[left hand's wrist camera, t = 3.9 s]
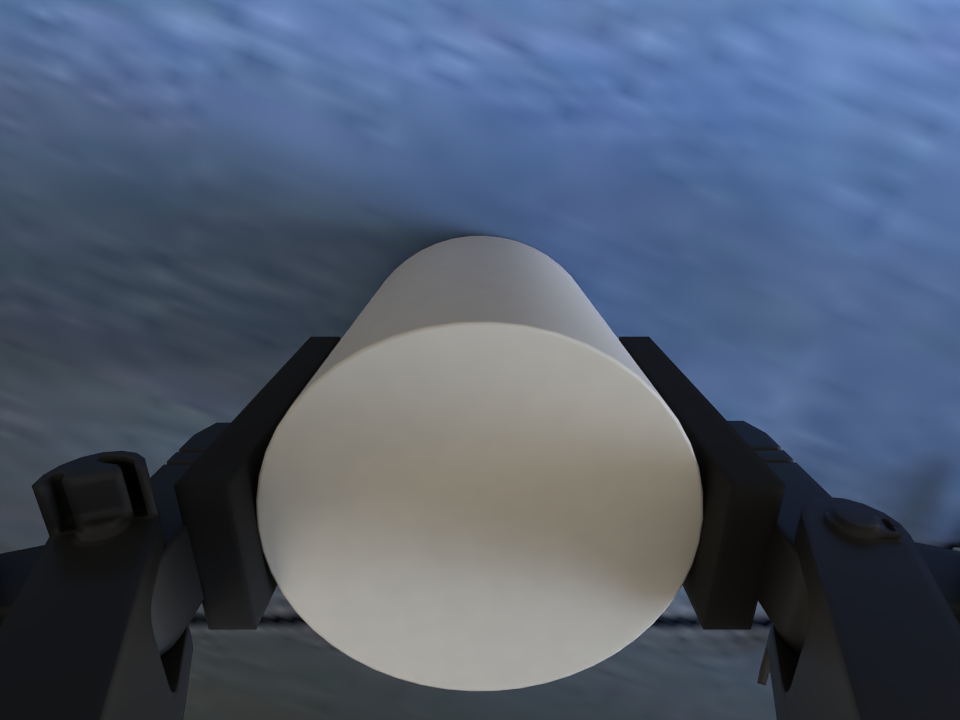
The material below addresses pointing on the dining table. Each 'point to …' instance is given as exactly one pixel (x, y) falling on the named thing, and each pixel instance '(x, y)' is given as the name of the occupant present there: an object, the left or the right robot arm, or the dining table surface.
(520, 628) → the can
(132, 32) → the dining table surface
